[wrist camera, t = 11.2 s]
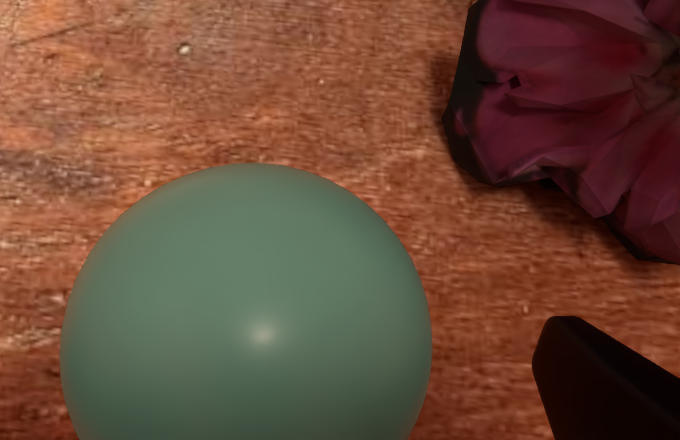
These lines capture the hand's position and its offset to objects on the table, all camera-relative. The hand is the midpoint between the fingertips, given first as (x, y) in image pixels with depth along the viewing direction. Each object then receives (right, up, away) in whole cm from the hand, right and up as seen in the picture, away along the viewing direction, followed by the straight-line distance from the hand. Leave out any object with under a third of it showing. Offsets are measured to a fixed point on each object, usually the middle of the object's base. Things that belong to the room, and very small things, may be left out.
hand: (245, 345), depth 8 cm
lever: (0, -4, 0) cm, 4 cm away
